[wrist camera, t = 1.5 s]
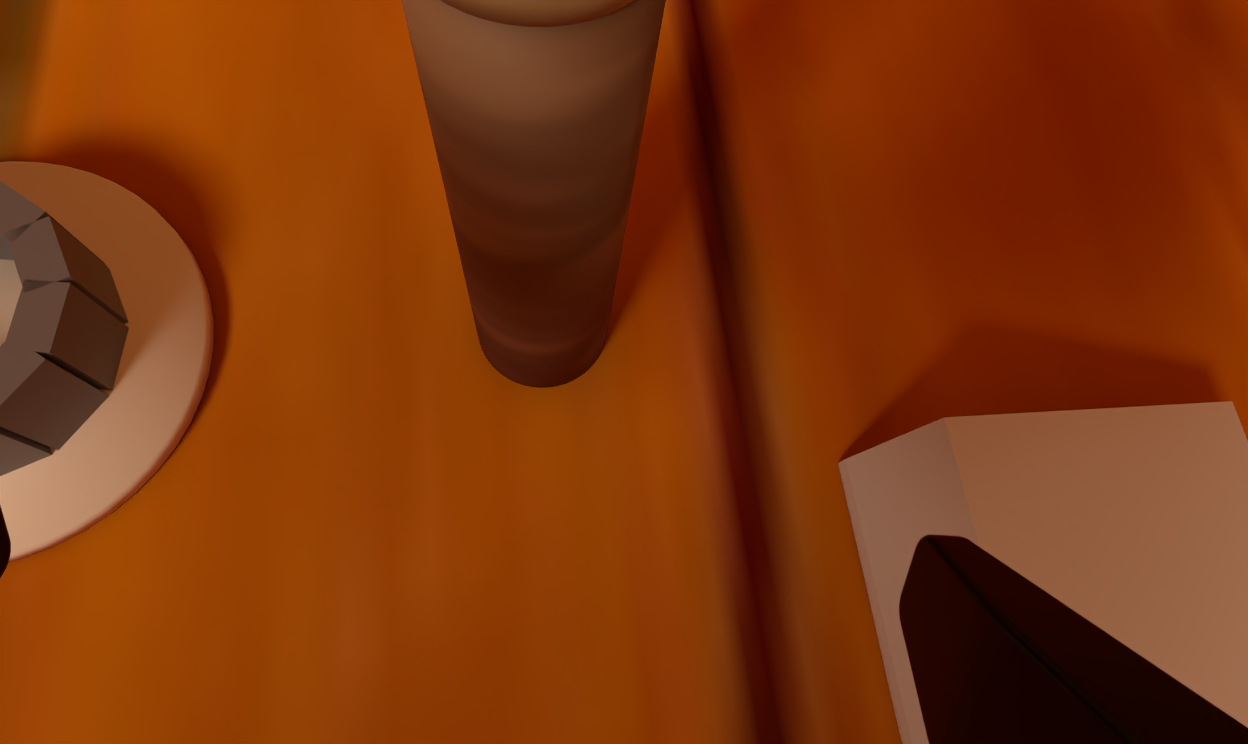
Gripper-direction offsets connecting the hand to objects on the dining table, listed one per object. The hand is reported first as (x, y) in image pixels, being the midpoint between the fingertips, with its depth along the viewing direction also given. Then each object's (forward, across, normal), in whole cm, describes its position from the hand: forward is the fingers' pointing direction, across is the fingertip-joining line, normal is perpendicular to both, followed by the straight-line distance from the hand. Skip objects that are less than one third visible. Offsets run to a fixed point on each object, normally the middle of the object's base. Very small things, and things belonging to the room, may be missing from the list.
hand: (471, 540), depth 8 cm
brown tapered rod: (+15, 0, +4) cm, 15 cm away
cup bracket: (+13, +14, +6) cm, 20 cm away
